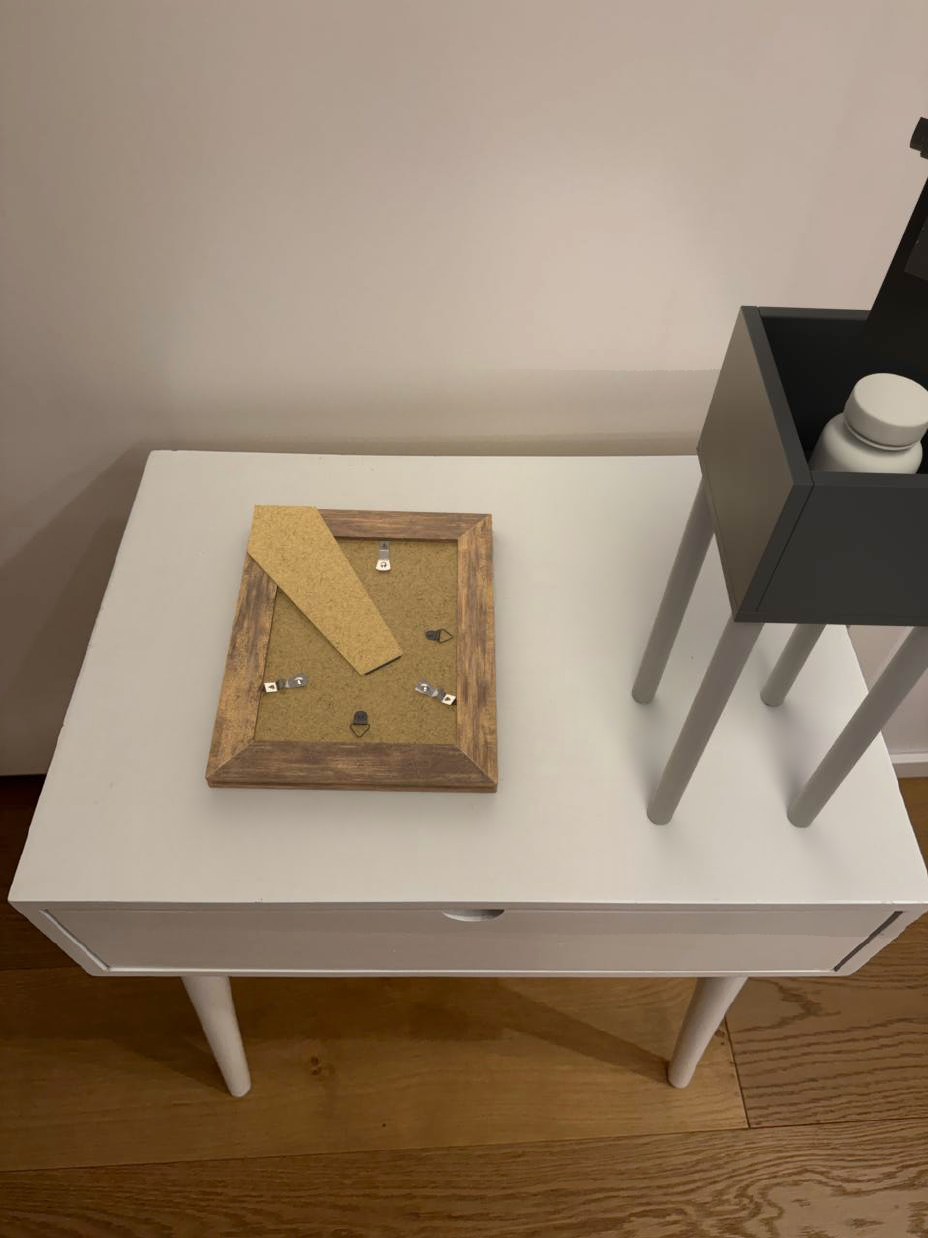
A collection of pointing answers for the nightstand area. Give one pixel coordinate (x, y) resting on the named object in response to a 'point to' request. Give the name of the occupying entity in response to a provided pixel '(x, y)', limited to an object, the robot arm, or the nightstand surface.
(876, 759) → the nightstand surface
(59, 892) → the nightstand surface
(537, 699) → the nightstand surface
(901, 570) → the legged open box
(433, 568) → the picture frame
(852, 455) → the pill bottle
